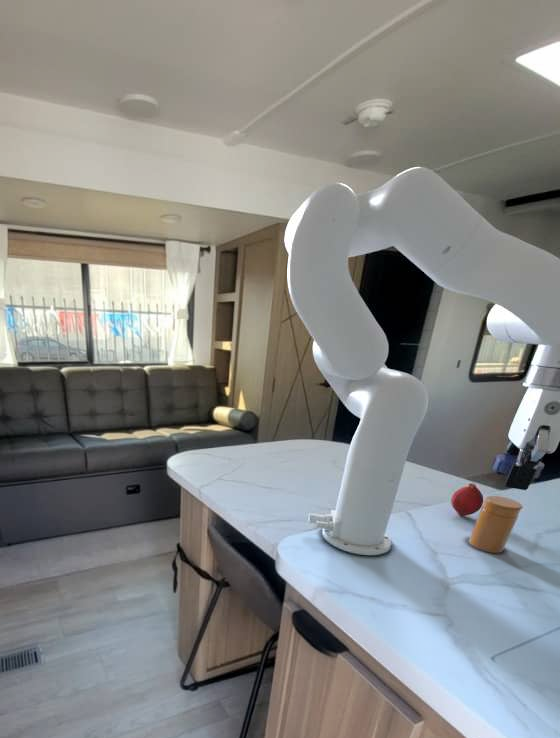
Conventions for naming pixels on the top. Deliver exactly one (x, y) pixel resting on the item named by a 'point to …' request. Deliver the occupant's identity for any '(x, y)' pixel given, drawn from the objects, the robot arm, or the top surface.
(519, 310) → the robot arm
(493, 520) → the honey jar
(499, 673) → the top surface
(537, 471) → the honey lid
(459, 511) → the red pomegranate
